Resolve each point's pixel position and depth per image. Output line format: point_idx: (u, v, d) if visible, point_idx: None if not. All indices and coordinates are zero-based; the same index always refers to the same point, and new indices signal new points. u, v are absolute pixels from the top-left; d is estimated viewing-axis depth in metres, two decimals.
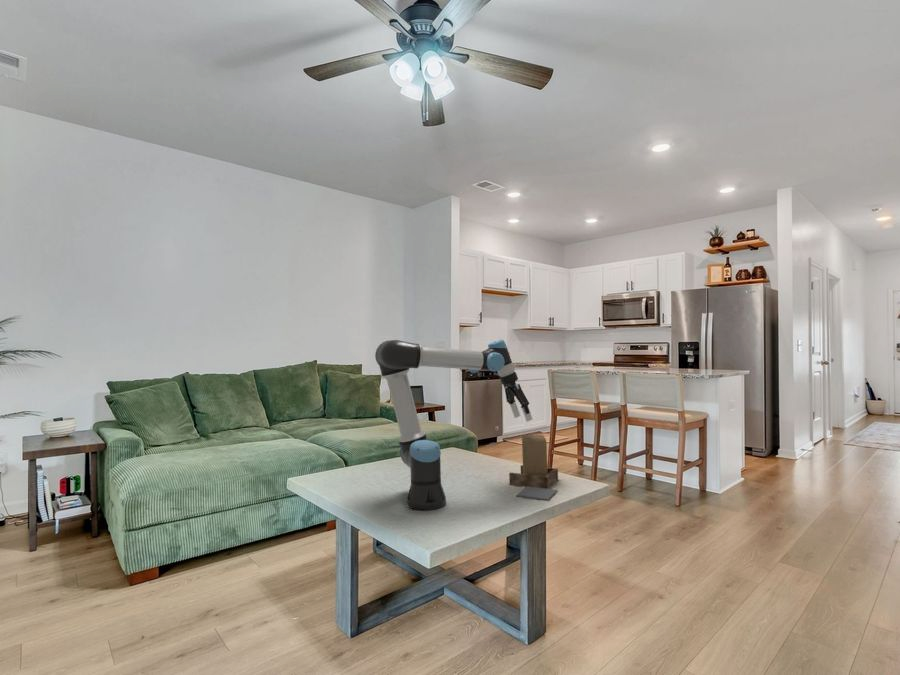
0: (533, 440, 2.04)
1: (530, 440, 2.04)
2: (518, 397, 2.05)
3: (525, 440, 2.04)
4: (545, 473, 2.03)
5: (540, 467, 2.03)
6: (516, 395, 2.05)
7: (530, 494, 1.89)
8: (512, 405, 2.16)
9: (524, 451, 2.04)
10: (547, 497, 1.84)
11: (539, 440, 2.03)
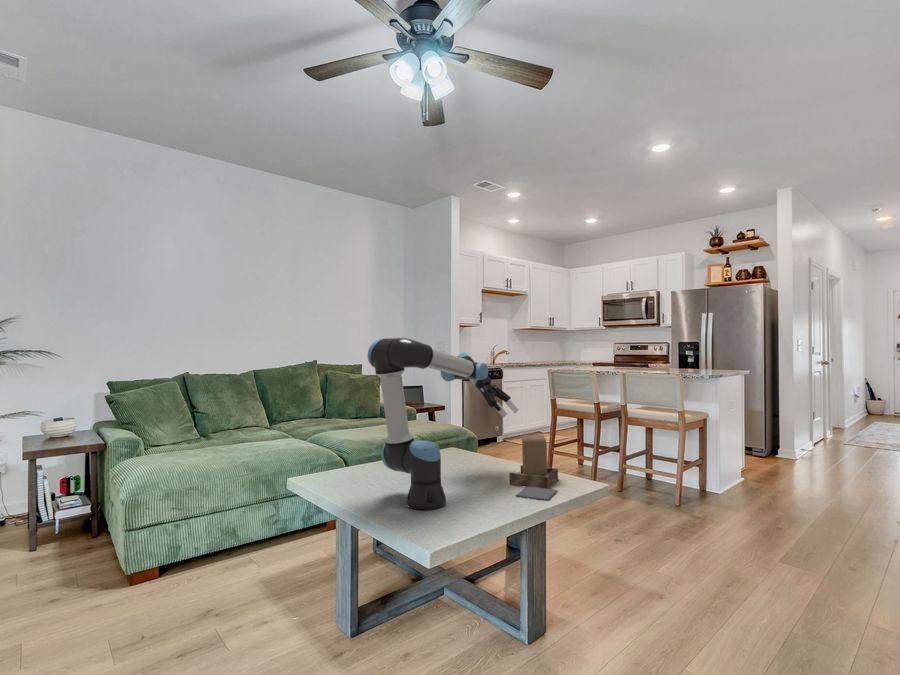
0: (533, 440, 2.04)
1: (530, 440, 2.04)
2: None
3: (525, 440, 2.04)
4: (545, 473, 2.03)
5: (540, 467, 2.03)
6: None
7: (530, 494, 1.89)
8: (507, 403, 2.21)
9: (524, 451, 2.04)
10: (547, 497, 1.84)
11: (539, 440, 2.03)
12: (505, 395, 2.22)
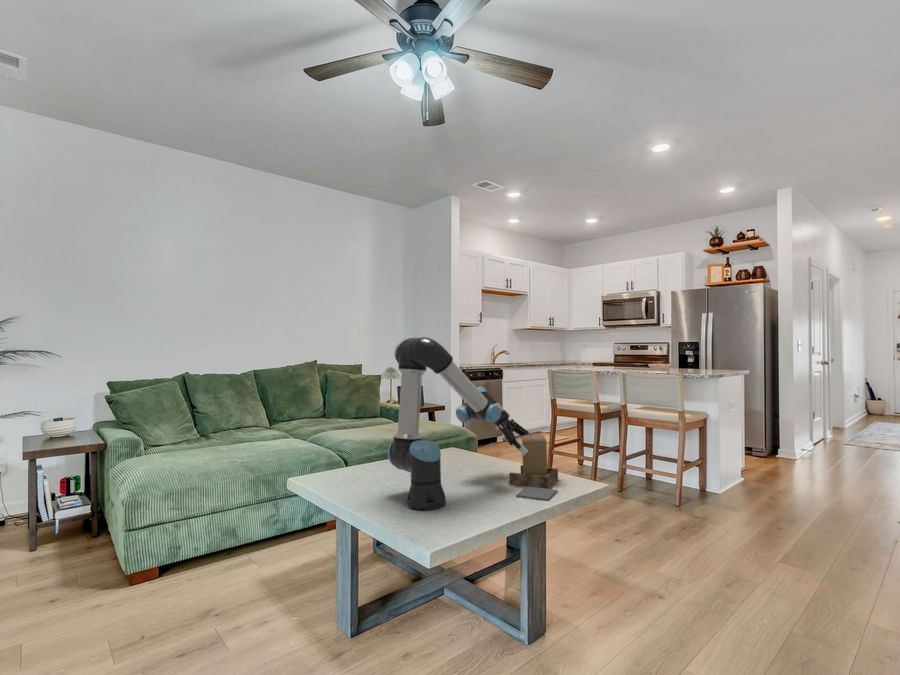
0: (533, 440, 2.04)
1: (530, 440, 2.04)
2: None
3: (525, 440, 2.04)
4: (545, 473, 2.03)
5: (540, 467, 2.03)
6: None
7: (530, 494, 1.89)
8: None
9: None
10: (547, 497, 1.84)
11: (539, 440, 2.03)
12: (523, 430, 2.18)
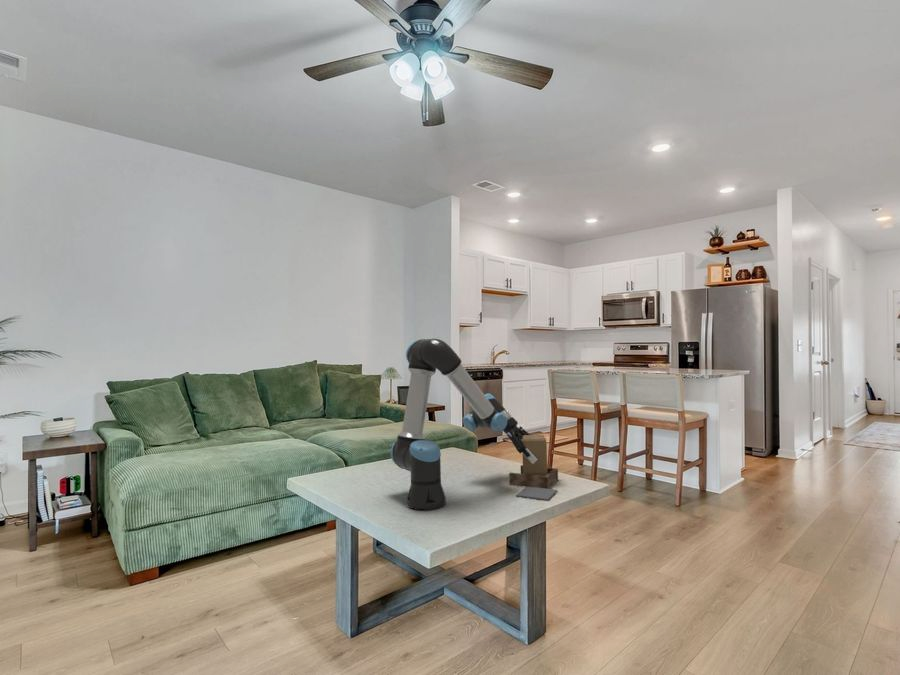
0: (533, 440, 2.04)
1: (530, 440, 2.04)
2: None
3: (525, 440, 2.04)
4: (545, 473, 2.03)
5: (540, 467, 2.03)
6: None
7: (530, 494, 1.89)
8: None
9: None
10: (547, 497, 1.84)
11: (539, 440, 2.03)
12: None
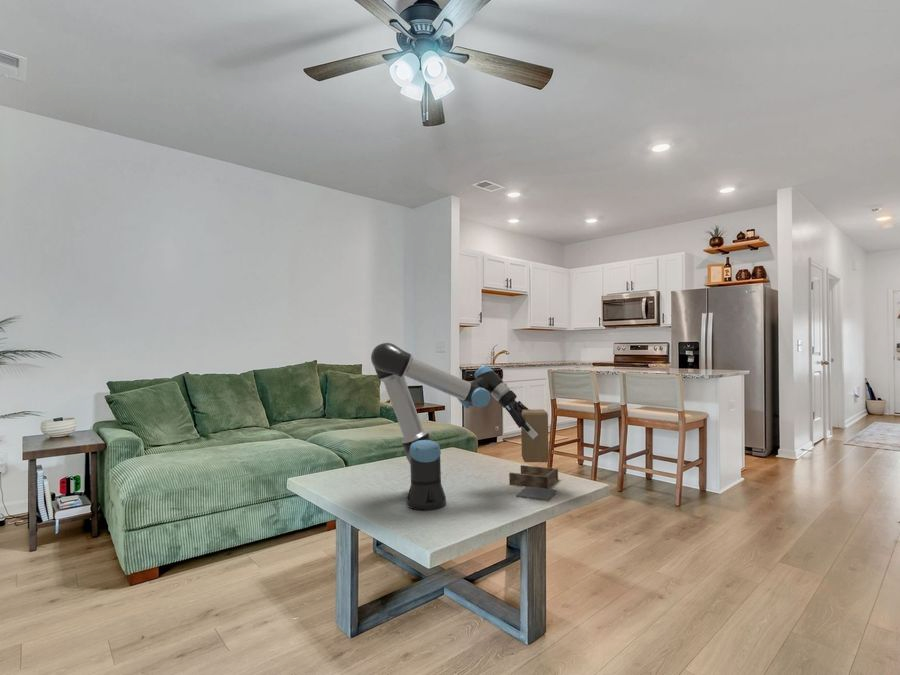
0: (534, 414, 1.89)
1: (530, 414, 1.89)
2: None
3: (525, 414, 1.89)
4: (546, 449, 1.88)
5: (540, 443, 1.88)
6: None
7: (530, 494, 1.89)
8: None
9: None
10: (547, 497, 1.84)
11: (540, 414, 1.89)
12: None
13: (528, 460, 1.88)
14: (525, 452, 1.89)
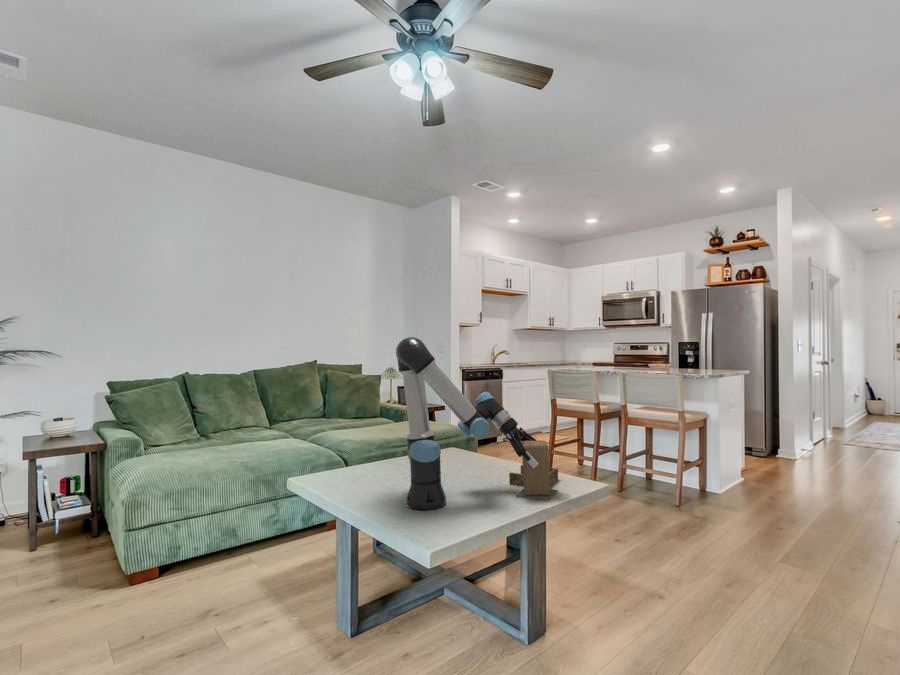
0: (534, 446, 1.86)
1: (531, 446, 1.87)
2: None
3: (525, 446, 1.87)
4: (547, 482, 1.86)
5: (541, 476, 1.86)
6: None
7: None
8: None
9: None
10: (547, 497, 1.84)
11: (540, 446, 1.86)
12: (533, 440, 1.99)
13: (529, 493, 1.86)
14: (526, 485, 1.86)
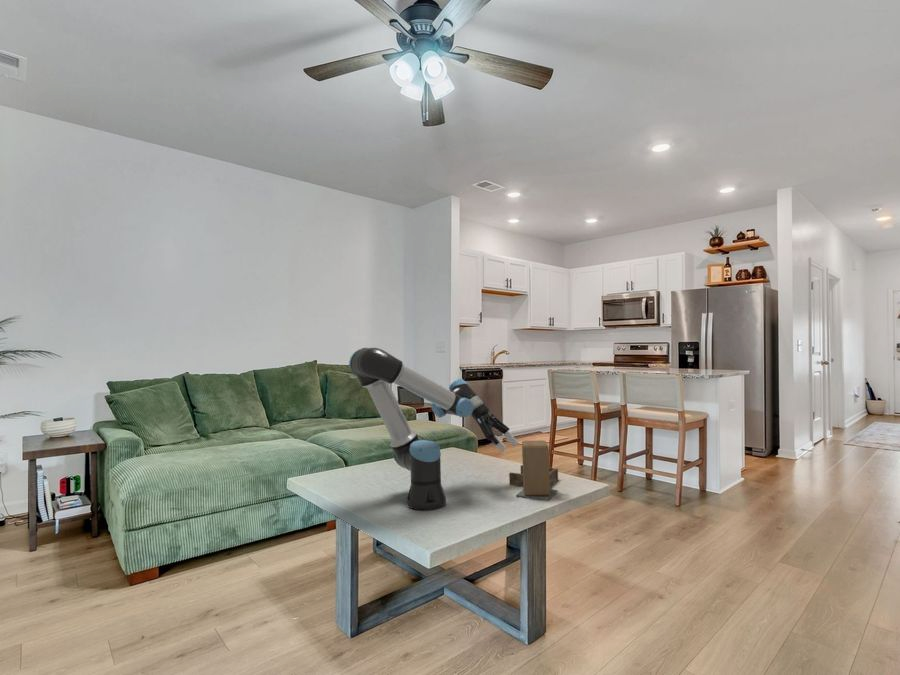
0: (534, 446, 1.86)
1: (531, 446, 1.87)
2: None
3: (525, 446, 1.87)
4: (547, 482, 1.86)
5: (541, 476, 1.86)
6: None
7: None
8: (505, 435, 2.04)
9: (524, 458, 1.87)
10: (547, 497, 1.84)
11: (540, 446, 1.86)
12: (503, 426, 2.05)
13: (529, 493, 1.86)
14: (526, 485, 1.86)
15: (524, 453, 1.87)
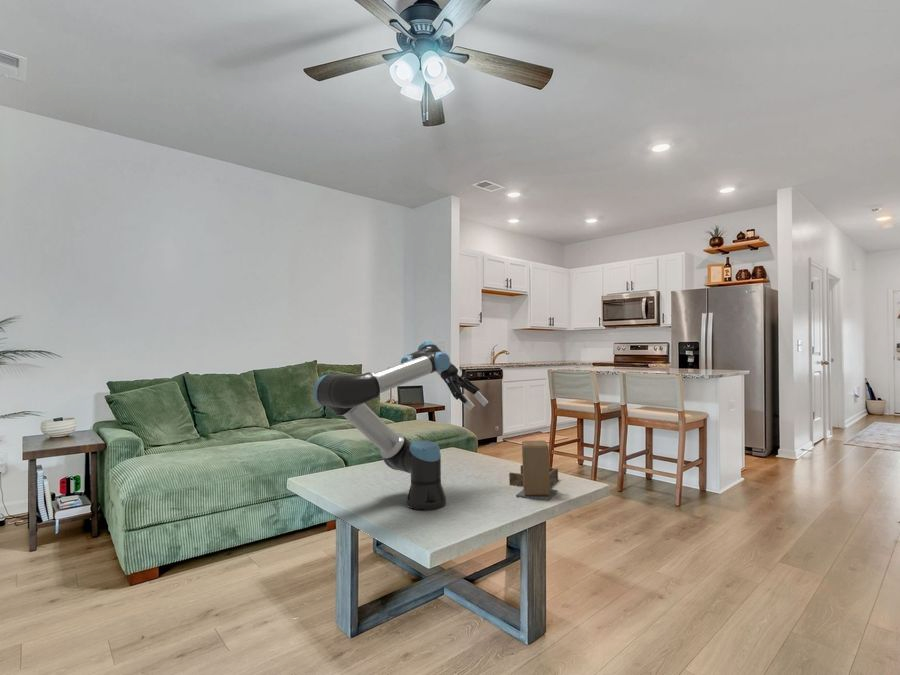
0: (534, 446, 1.86)
1: (531, 446, 1.87)
2: None
3: (525, 446, 1.87)
4: (547, 482, 1.86)
5: (541, 476, 1.86)
6: None
7: None
8: (475, 395, 2.03)
9: (524, 458, 1.87)
10: (547, 497, 1.84)
11: (540, 446, 1.86)
12: (473, 386, 2.03)
13: (529, 493, 1.86)
14: (526, 485, 1.86)
15: (524, 453, 1.87)
